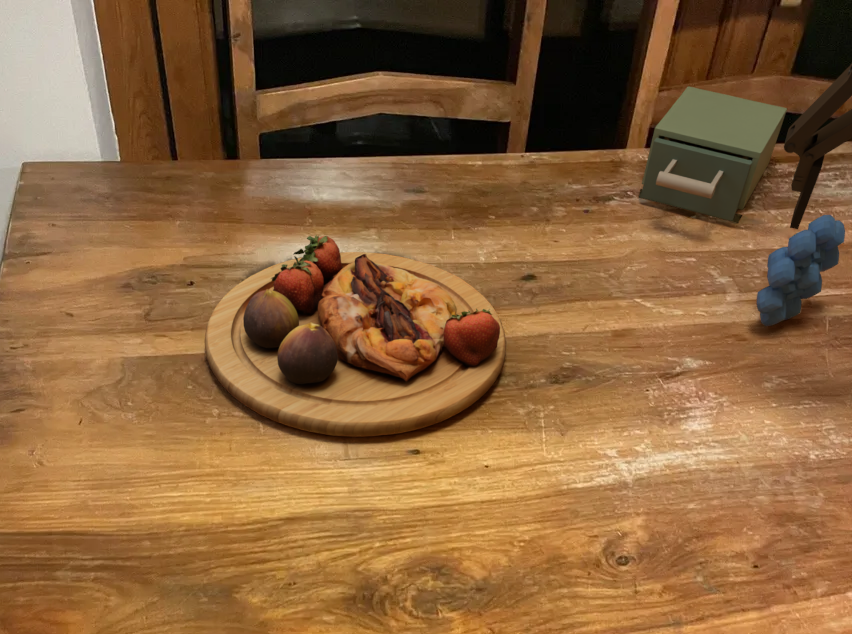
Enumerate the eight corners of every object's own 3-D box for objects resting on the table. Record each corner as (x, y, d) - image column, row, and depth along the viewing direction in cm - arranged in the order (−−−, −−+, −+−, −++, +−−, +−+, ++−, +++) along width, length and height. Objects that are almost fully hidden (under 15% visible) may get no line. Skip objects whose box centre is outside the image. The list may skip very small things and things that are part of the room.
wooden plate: (556, 329, 104) (569, 261, 98) (399, 487, 87) (403, 416, 80) (325, 241, 115) (323, 174, 109) (143, 365, 97) (128, 294, 91)
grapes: (783, 286, 112) (820, 188, 103) (830, 313, 109) (873, 213, 100) (719, 317, 107) (753, 216, 98) (766, 345, 104) (806, 244, 95)
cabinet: (738, 223, 122) (761, 153, 115) (638, 197, 126) (654, 127, 119) (764, 176, 131) (787, 108, 124) (670, 153, 135) (688, 85, 128)
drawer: (720, 242, 117) (738, 185, 111) (625, 217, 120) (638, 160, 114) (758, 176, 129) (776, 121, 123) (671, 155, 132) (684, 101, 127)
